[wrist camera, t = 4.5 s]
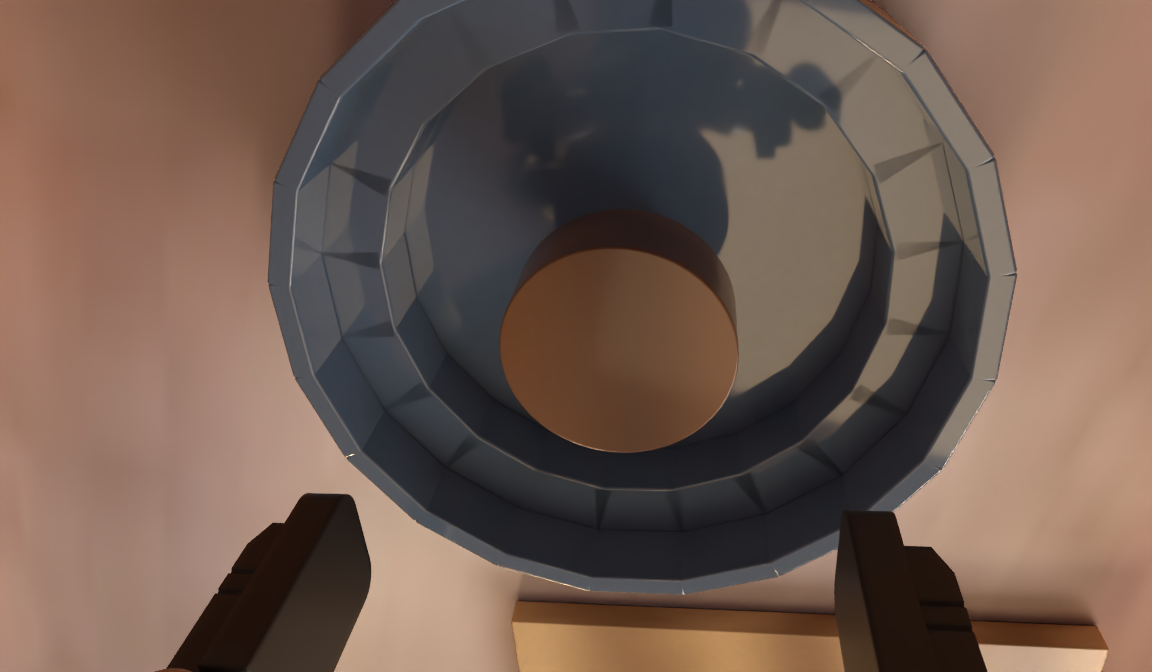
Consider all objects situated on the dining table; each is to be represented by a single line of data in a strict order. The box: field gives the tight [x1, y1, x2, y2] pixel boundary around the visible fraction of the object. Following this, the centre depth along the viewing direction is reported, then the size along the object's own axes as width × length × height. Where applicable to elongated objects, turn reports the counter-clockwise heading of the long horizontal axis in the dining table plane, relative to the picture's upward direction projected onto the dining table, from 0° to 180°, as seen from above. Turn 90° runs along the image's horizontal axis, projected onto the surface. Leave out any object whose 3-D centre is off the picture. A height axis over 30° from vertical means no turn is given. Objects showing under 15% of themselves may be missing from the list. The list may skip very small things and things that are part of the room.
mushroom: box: [499, 209, 739, 453], centre depth 21 cm, size 5×5×5 cm
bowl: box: [268, 0, 1017, 595], centre depth 22 cm, size 17×17×5 cm
